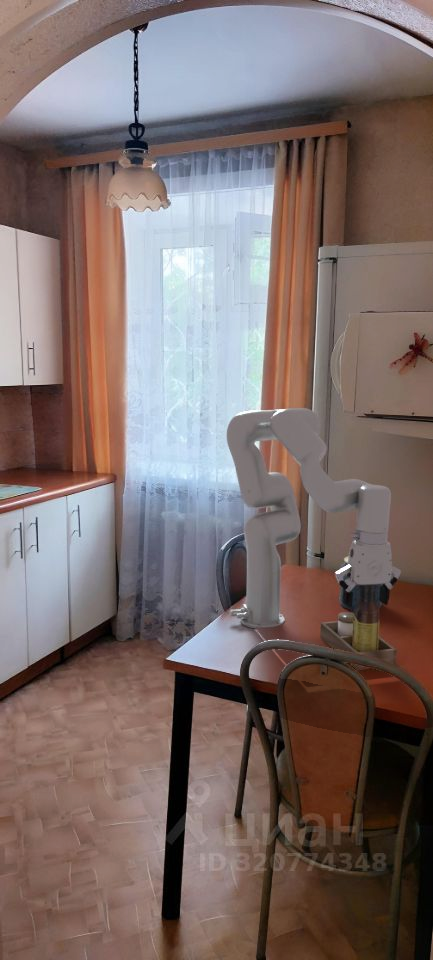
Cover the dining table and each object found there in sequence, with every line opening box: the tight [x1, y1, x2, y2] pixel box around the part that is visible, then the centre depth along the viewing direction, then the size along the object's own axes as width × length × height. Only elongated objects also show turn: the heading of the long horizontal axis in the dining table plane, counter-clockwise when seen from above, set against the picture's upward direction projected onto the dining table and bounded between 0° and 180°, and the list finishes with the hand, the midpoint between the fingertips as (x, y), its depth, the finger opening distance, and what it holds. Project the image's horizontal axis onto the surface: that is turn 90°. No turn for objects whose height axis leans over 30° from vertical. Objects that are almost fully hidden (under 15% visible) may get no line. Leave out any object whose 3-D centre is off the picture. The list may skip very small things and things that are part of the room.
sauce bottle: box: [352, 584, 380, 652], centre depth 162 cm, size 6×6×20 cm
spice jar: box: [337, 611, 354, 637], centre depth 172 cm, size 5×5×7 cm
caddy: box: [319, 620, 398, 671], centre depth 167 cm, size 11×20×5 cm, turn 15°
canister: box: [338, 555, 383, 611], centre depth 202 cm, size 13×13×18 cm
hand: (365, 604), depth 161 cm, fingers open, 9 cm apart
